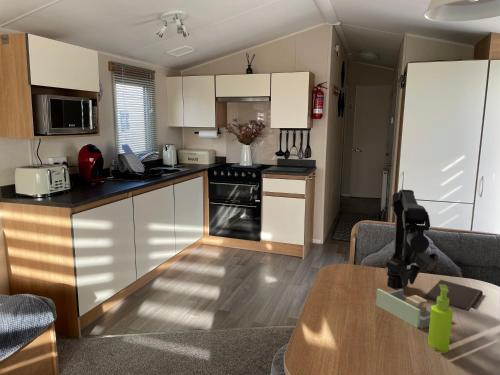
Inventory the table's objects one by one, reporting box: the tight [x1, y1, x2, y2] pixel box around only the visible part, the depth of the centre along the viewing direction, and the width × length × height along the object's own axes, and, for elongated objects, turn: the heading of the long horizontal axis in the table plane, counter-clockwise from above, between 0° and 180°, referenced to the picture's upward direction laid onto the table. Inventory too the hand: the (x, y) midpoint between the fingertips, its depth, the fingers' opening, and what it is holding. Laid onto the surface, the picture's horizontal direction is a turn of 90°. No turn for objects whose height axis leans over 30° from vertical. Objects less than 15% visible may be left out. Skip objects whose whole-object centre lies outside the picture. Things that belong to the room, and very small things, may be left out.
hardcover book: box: [422, 279, 484, 312], centre depth 151 cm, size 16×23×2 cm
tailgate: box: [375, 288, 420, 329], centre depth 133 cm, size 1×18×7 cm, turn 28°
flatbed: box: [387, 288, 431, 329], centre depth 137 cm, size 13×20×4 cm, turn 27°
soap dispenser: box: [427, 284, 454, 354], centre depth 115 cm, size 6×7×20 cm
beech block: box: [405, 294, 428, 313], centre depth 138 cm, size 5×5×4 cm
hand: (408, 284), depth 134 cm, fingers open, 3 cm apart
